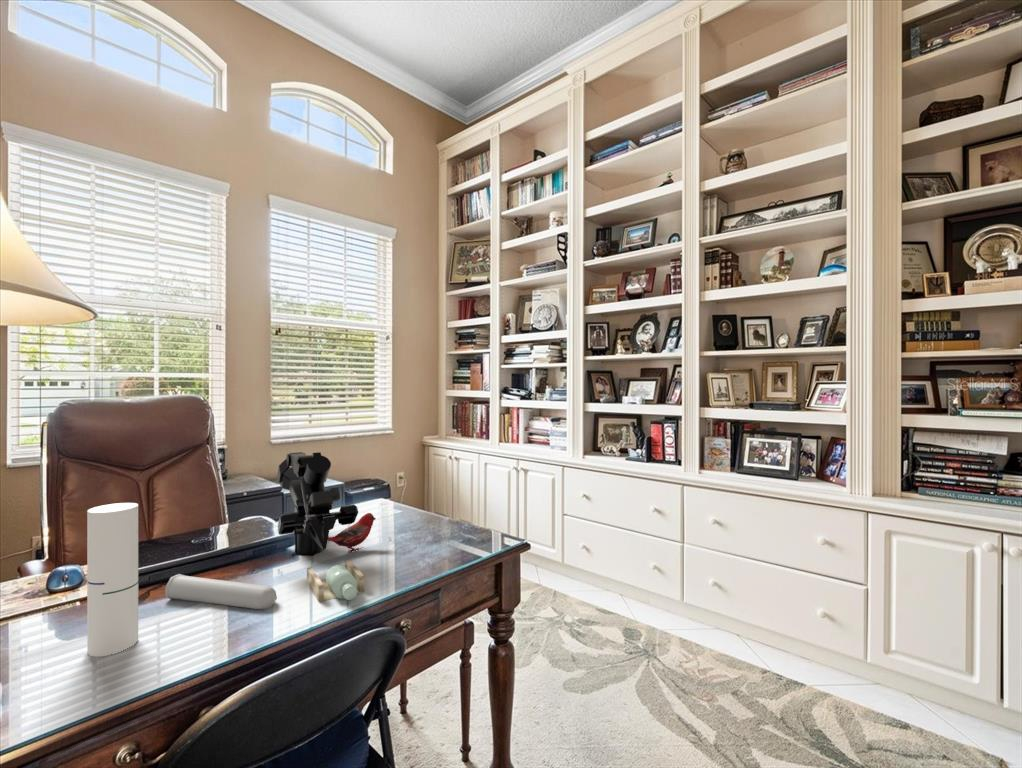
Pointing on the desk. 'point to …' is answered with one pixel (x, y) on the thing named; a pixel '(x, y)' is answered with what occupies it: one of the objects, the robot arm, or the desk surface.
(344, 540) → the decorative bird figurine
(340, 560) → the desk surface
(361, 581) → the cradle
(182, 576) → the tube
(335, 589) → the bottle
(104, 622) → the cylindrical container
